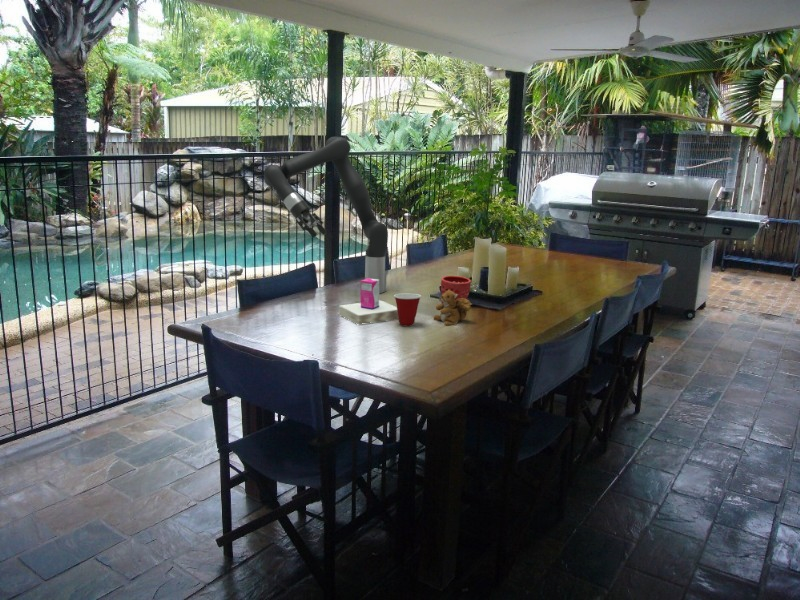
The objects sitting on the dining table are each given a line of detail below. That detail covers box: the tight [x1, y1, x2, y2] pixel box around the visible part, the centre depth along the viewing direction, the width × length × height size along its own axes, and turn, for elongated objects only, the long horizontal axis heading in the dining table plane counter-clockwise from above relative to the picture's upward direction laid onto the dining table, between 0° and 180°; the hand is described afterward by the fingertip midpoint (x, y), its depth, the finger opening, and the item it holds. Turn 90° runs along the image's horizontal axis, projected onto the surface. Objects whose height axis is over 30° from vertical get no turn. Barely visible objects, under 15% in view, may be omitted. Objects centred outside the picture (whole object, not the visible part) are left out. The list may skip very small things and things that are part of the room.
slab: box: [338, 299, 399, 325], centre depth 268 cm, size 20×16×4 cm
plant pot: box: [440, 275, 472, 304], centre depth 291 cm, size 13×13×12 cm
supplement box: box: [360, 278, 380, 310], centre depth 267 cm, size 6×6×12 cm
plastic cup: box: [393, 292, 422, 327], centre depth 259 cm, size 11×11×12 cm
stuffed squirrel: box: [433, 290, 473, 326], centre depth 265 cm, size 10×14×13 cm
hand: (320, 234), depth 275 cm, fingers open, 8 cm apart
